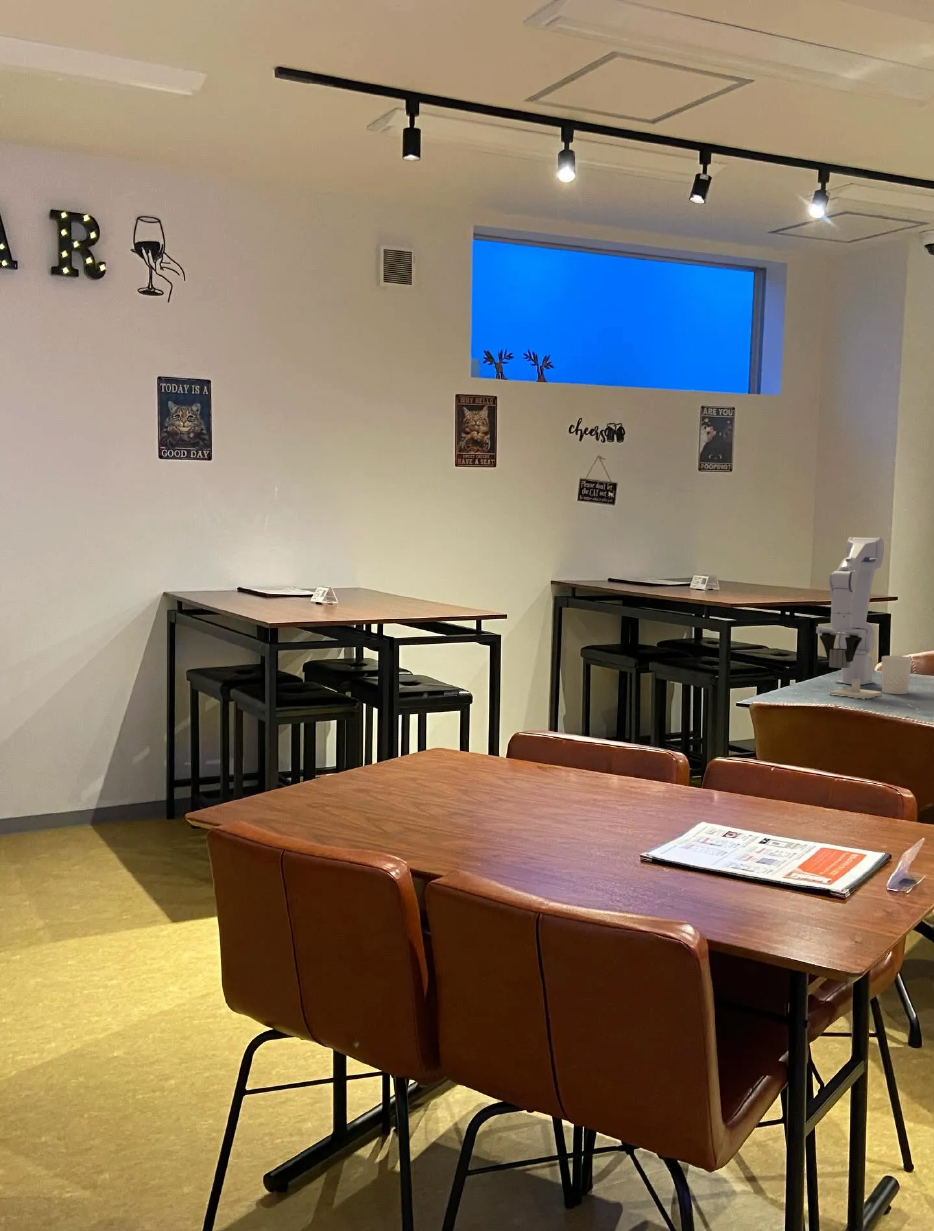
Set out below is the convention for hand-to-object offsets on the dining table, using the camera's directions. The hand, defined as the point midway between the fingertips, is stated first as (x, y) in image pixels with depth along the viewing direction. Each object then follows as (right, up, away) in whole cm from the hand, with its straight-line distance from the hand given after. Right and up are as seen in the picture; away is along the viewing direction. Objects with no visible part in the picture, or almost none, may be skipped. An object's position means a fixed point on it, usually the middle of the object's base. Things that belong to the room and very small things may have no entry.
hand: (839, 660), depth 341 cm
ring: (0, -2, 0) cm, 2 cm away
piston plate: (+2, -9, -9) cm, 13 cm away
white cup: (+15, -9, -3) cm, 17 cm away
